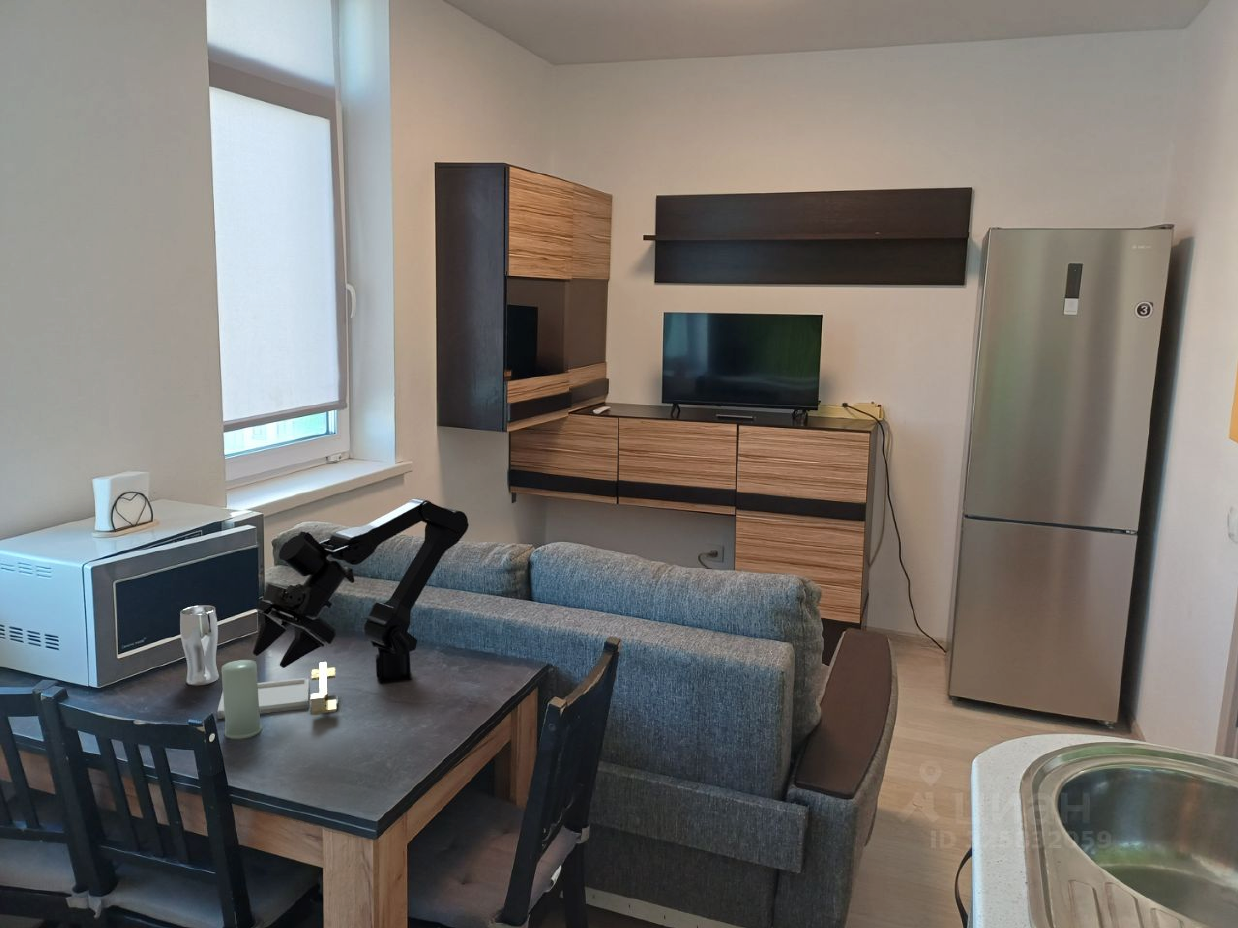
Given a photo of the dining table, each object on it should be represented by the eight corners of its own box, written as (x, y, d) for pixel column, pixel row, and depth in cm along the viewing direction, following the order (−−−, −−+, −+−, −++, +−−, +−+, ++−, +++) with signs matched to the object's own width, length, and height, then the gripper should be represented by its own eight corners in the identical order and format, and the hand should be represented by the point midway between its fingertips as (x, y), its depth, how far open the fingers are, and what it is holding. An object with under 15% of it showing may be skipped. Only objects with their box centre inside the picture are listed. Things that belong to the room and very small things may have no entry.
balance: (337, 689, 184) (336, 656, 183) (338, 720, 170) (336, 685, 169) (311, 692, 182) (309, 659, 181) (310, 724, 168) (308, 689, 167)
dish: (309, 684, 186) (308, 677, 186) (308, 708, 175) (307, 700, 175) (224, 693, 182) (224, 686, 181) (217, 718, 170) (217, 711, 170)
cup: (262, 721, 169) (258, 657, 167) (260, 736, 163) (256, 670, 161) (226, 726, 167) (222, 661, 165) (223, 741, 161) (218, 674, 159)
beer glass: (207, 687, 185) (201, 616, 182) (176, 684, 186) (171, 614, 184) (228, 674, 191) (223, 605, 189) (198, 672, 193) (193, 603, 190)
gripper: (263, 557, 175) (210, 627, 168) (318, 575, 163) (264, 651, 157) (302, 588, 182) (253, 656, 175) (357, 607, 170) (307, 681, 164)
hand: (267, 660), depth 168 cm, fingers open, 9 cm apart
